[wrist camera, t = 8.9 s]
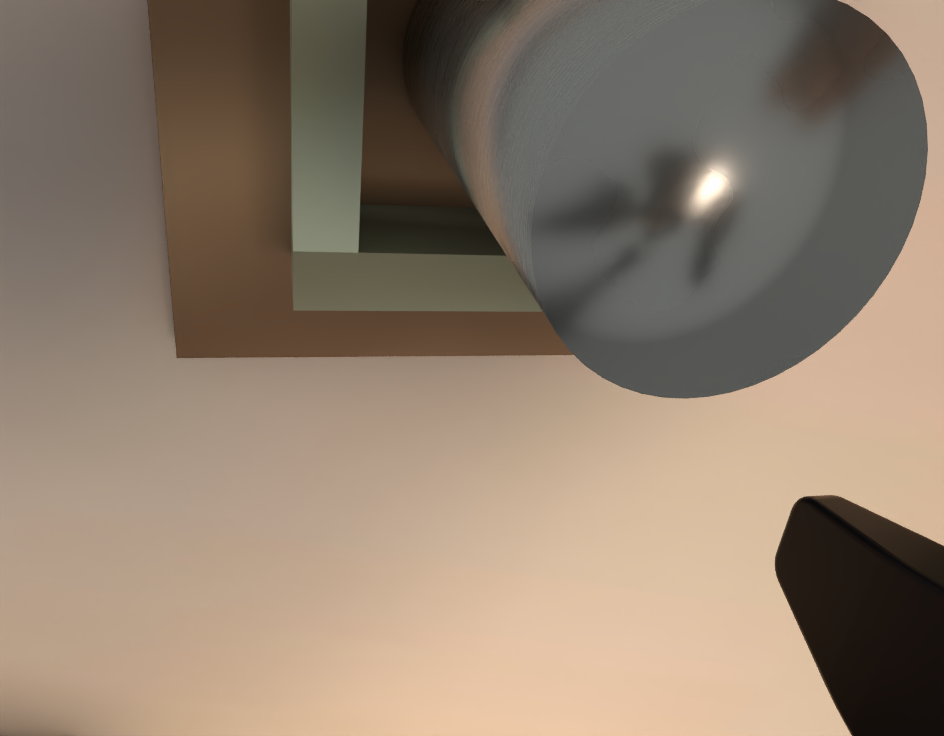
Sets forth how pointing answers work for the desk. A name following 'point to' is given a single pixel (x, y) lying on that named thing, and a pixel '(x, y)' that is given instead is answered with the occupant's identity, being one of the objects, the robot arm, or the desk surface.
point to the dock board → (318, 193)
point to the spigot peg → (679, 171)
